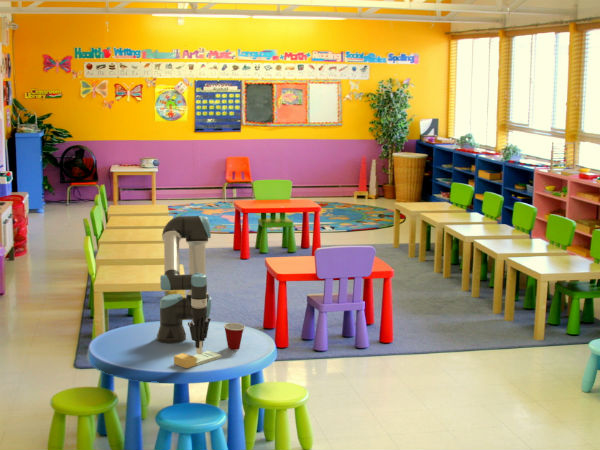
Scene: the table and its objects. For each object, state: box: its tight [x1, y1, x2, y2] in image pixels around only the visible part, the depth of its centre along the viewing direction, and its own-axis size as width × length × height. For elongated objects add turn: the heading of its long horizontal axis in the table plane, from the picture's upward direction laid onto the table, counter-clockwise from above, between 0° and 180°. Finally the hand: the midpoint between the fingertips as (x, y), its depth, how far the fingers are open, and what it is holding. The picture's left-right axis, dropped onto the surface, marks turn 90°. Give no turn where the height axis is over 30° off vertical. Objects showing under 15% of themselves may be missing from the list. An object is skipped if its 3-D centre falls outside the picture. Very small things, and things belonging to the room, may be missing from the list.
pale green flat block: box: [192, 350, 222, 367], centre depth 395 cm, size 9×16×2 cm, turn 138°
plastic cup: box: [223, 322, 246, 351], centre depth 412 cm, size 11×11×12 cm
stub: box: [173, 352, 196, 369], centre depth 387 cm, size 9×6×4 cm, turn 48°
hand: (199, 353), depth 393 cm, fingers closed
